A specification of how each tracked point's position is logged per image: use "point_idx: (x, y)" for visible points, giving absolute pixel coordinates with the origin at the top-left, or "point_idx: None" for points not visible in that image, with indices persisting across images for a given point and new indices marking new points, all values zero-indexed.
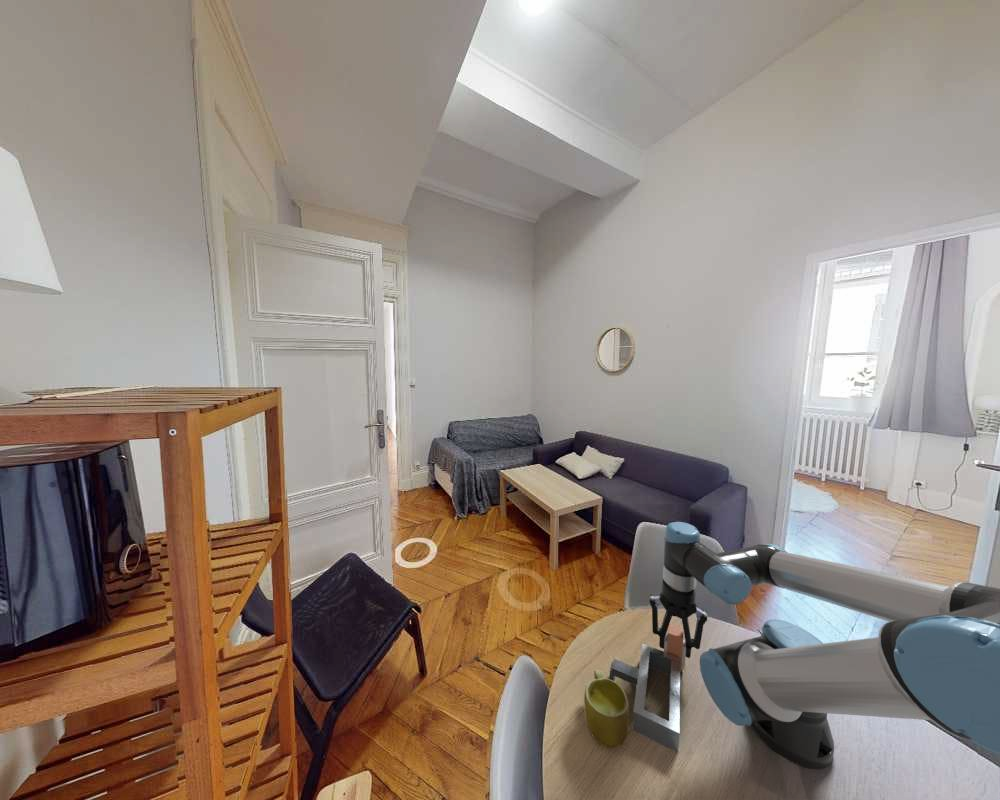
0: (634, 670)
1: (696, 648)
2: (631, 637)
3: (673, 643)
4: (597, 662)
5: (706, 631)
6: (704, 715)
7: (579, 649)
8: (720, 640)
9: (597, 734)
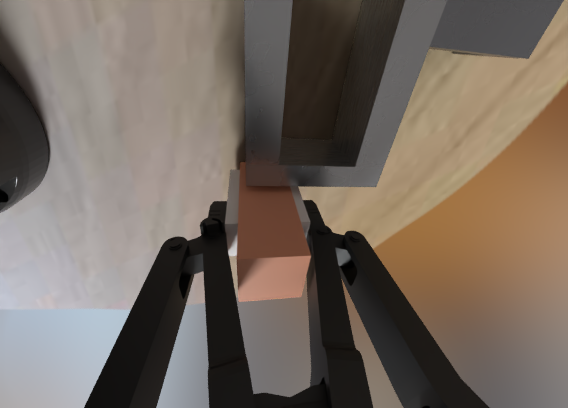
0: (455, 26)
1: (178, 238)
2: (364, 210)
3: (277, 222)
4: (494, 85)
5: None
6: (150, 17)
7: (534, 110)
8: None
9: None
